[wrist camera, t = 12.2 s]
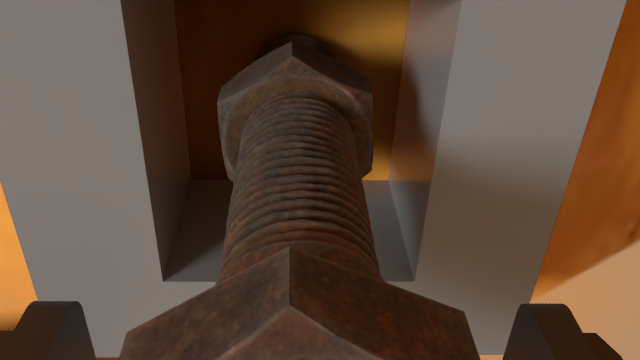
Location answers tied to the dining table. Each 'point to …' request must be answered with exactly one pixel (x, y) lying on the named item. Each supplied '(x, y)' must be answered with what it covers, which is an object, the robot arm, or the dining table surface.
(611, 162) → the dining table surface
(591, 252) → the dining table surface
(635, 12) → the dining table surface
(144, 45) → the socket block
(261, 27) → the dining table surface
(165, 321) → the bolt
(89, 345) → the robot arm
